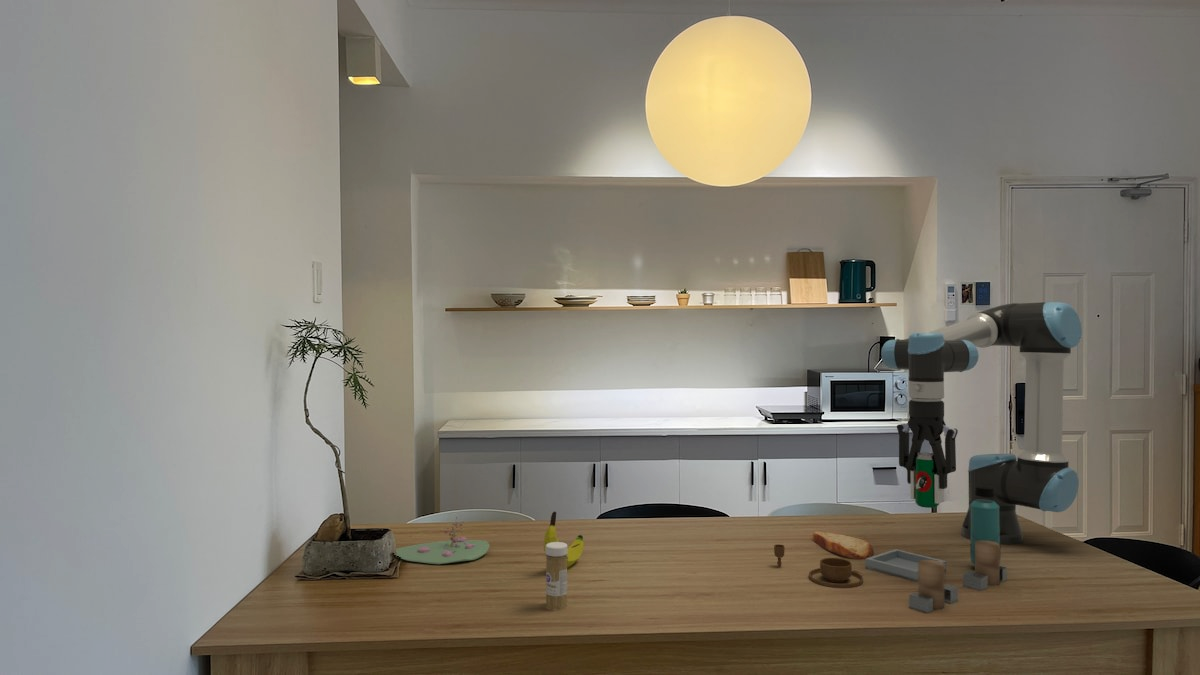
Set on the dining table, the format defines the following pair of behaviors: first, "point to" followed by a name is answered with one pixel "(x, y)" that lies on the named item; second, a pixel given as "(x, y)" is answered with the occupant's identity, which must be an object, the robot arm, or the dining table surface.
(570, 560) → the banana
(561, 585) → the sprinkles bottle
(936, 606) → the dowel near
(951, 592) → the clip rack
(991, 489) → the beverage bottle
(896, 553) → the tray
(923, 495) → the soda can
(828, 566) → the place setting
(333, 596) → the dining table surface
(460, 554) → the plant
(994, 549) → the dowel far
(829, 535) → the bread slice
